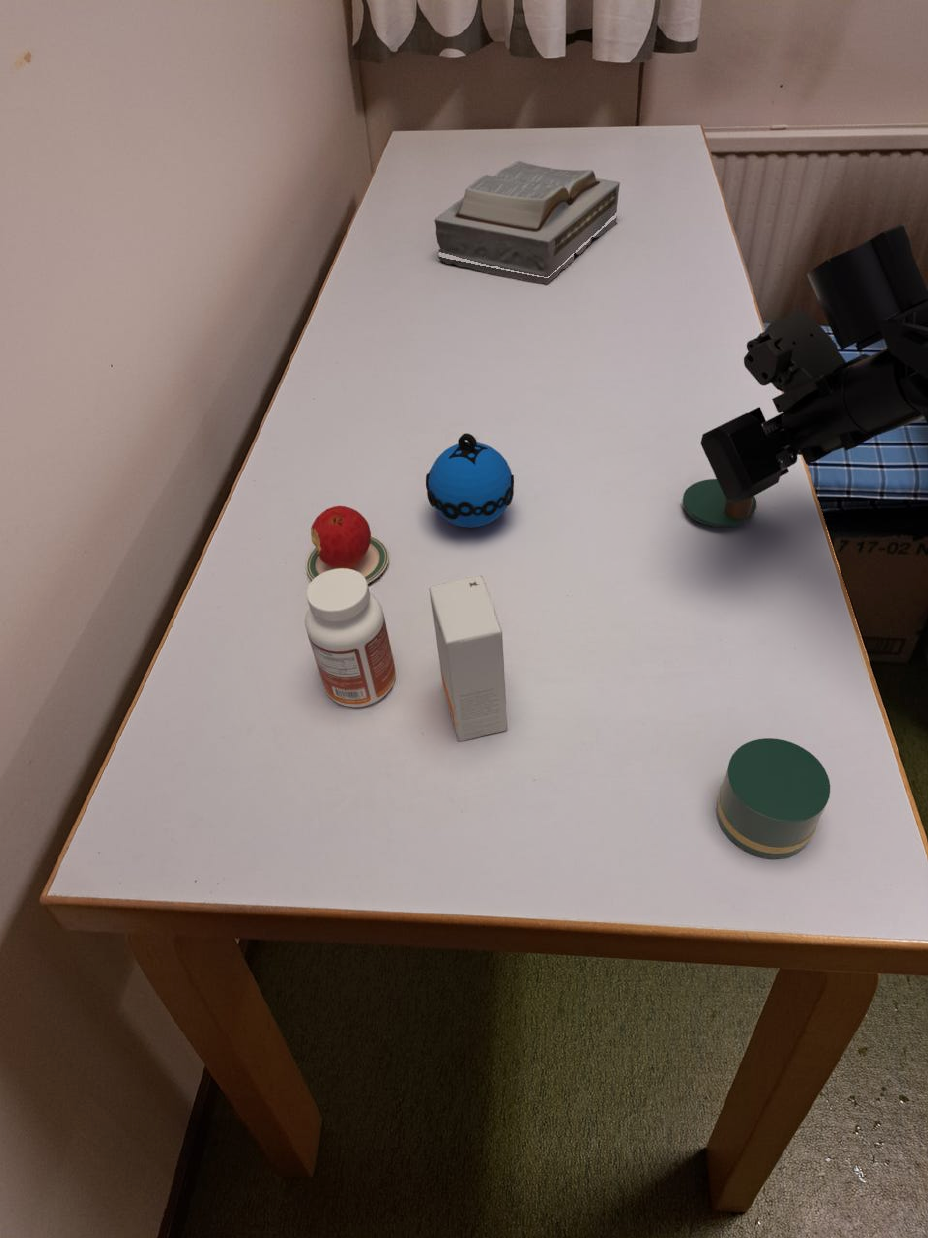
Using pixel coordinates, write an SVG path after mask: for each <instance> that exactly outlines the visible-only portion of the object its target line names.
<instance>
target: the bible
mask: <svg viewBox="0 0 928 1238" xmlns="http://www.w3.org/2000/svg"><path fill="white" fill-rule="evenodd" d="M620 185H621V182H620V181H616V180H612V179H611V180H610V179H604V178H598V177H596V174H595V172H594V170H593V169H583V170H582V169H580V170H579V169H578V170H577V169H559V168H552V167H547V166H541V165H536V164H532V163H529V162H525V161H522V160H517V161H515V162H514V163H512V164H511V165H509V166H507V167H504V168H502V169H500V170H499V171H498V172H497V173H495V175H482V176H480V177H479V178H477V179H476V180H475V181H474V182H472V183H471V184H470V185H468V186H467V187H466V188H465V191H464V195H463V197H462V198H461V199H459V200H458V201H456V202H455V203H454V204H452V205H451V206H450V207H448V208H447V209H446V210H444V211H443V212H442V213H440V214H439V215H438V216H436V217H435V218H434V220H433V221H434V224H435V237H436V243H437V245H438V247H439V249H438V251H439V252H441V253H445V254H449V255H453V256H456V257H459V258H462V259H467V260H470V261H474V262H478V263H481V264H486V265H489V266H498V267H500V268H504V269H510V270H514V271H519V272H524V273H529V274H534V275H539V276H544V277H548V276H550V275H551V274H552V273H553V272H554V271H555V270H557V268H558V267H559V266H561V265H562V264H563V263H564V262H565V261H566V260H567V259H568V258H569V257H570V256H571V255H572V254H573V253H575V252H576V250H578V248H579V247H580V246H581V245H582V244H583V243H584V242H586V241H587V240H588V239H589V238H590V237H591V236H593V235H594V234H595V233H596V232H597V231H598V230H600V229H601V228H602V226H604V225H605V223H606V222H607V221H608V220H609V219H610V218H611V217H612V216H614V215H615V213H616V212H617V213H618V202H619V193H620ZM617 224H618V222H617V217H616V218H615V219H614V220H612V221H611V222H610V223H609V224H608V225H607V226H606V227H604V228H603V229H602V230H601V231H600V232H599V233H598V234H597V235H596V236H595V237H593V238H592V239H591V240H590V241H589V242H588V243H587V244H586V245H584V246H583V247H582V248H581V249H580V250H579V251H578V252H577V253H576V254H575V255H577V256H579V255H581V254H582V253H583V252H584V251H585V250H586V248H587V246H590V244H591V243H592V240H593V239H595V238H596V239H597V238H600V237H602V236H603V235H604V234H605V233H606V232H608V231H609V230H611V229H612V227H614V226H616V225H617ZM575 255H574V256H573V257H571V258H570V259H569V260H568V261H567V262H566V263H565V264H564V265H562V266H561V267H560V268H559V269H558V270H557V271H556V272H554V273H553V274H552V275H551V276H550V277H549V278H544V277H537V276H532V275H527V274H522V273H517V272H511V271H506V270H501V269H496V268H491V267H486V266H480V265H475V264H471V263H466V262H461V261H456V260H450V259H446V258H442V257H438V256H437V258H438V259H439V261H442V262H443V263H445V264H446V265H449V266H451V265H456V266H457V267H459V268H467V269H470V270H475V271H477V272H479V271H480V272H481V273H483V274H485V273H486V274H490V275H496V276H500V277H505V278H510V279H518V280H521V281H523V282H528V283H529V282H530V283H538V284H544V285H547V284H549V283H550V282H551V281H553V280H554V279H555V278H556V277H557V276H558V275H559V274H560V272H561V271H562V270H565V269H566V268H569V265H570V264H572V263H573V262H574V260H575Z"/></svg>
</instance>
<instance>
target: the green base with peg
mask: <svg viewBox="0 0 928 1238" xmlns="http://www.w3.org/2000/svg"><path fill="white" fill-rule="evenodd" d="M682 507H683V509H684V512H686V514H688V516H689V517H690V518H692V519H694V520H695V521H697V522H698V523H701V524H703V525H706V526H710V527H717V528H731V527H736V526H739V525H742V524H745V523H746V522H748V521H749V520H750V519H751V518H752V517H754V515H755V513H756V509H757V499H756V497H755V496H753V497H751V498H750V499H747V500H744V501H741V502H738V503H735V504H734V503H732V502H730V501H728V500H726V498H725V495H724V493H723V491H722V489H721V487H720V485H719V482H718V480H717V478H709V479H703V480H699V481H697V482H694V483H693V484H691V485H690V486H688V487H687V488H686V489H685V491H684V493H683V495H682Z"/></svg>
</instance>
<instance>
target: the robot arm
mask: <svg viewBox="0 0 928 1238" xmlns="http://www.w3.org/2000/svg"><path fill="white" fill-rule="evenodd" d="M806 275H807V278H808V280H809V283H810V285H811V287H812V290H813V291H814V294H815V296H816V298H817V301H818V303H819V305H820V307H821V309H822V312H823V313H824V314H823V315H824V316H825V319H826V321H827V323H828V326H829V328H830V330H831V332H832V334H833V337H834V339H832V337H831V336H830V335H829V333H828V332H826V331H825V329H824V328H823V327H822V326H821V325H820V324H819V322H818V321H816V319H815V318H814V317H813V316H812V315H811V314H809V313H808V312H806V311H803V310H798V311H795V312H793V313H790V314H789V315H785V316H784V317H782V318H779V319H777V320H775V321H773V322H771V323H770V324H768V326H767V327H766V328H765V330H764V331H762V332H761V333H759V334H758V336H757V337H755V338H753V339H751V340H749V341H748V342H747V344H746V349H747V351H748V352H747V353H746V354H745V355H744V357H743V365H744V367H745V368H746V370H747V371H748V372H749V374H751V376H752V377H753V378H754V379H755V381H756V382H757V383H758V384H759V385H760V386H767V385H770V384H772V386H773V387H774V388H775V389H777V390H778V391H779V392H783V393H780V394H779V395H777V396H775V397H773V398H771V400H772V402H773V404H774V407H775V409H776V411H777V413H778V414H777V415H774V416H773V417H771V418H769V419H767V420H766V418H765V415H764V414H763V411H762V409H761V407H760V406H759V407H757V408H754V409H752V410H750V411H749V412H745V413H743V414H741V415H738V416H736V417H735V418H733V419H731V420H728V421H726V422H725V423H723V424H721V425H718V426H717V427H715V428H712V429H710V430H709V431H707V432H704V433H703V434H702V435H701V438H700V445H701V447H702V450H703V452H704V454H705V456H706V458H707V461H708V463H709V465H710V467H711V469H712V471H713V473H714V476H715V479H717V480H718V482H719V485H720V487H721V489H722V491H723V493H724V495H725V498H726V500H728V501H730V502H732V503H734V504H735V503H738V502H741V501H744V500H747V499H750V498H751V497H753V496H754V497H755V496H757V495H759V494H761V493H762V492H764V491H766V490H768V489H770V488H771V487H773V486H775V485H777V484H778V483H780V479H781V477H782V476H784V475H786V474H788V473H789V472H790V471H789V469H788V468H790V467H792V466H794V465H795V464H796V463H797V462H798V456H801V457H802V458H803V460H804V462H805V465H810V464H813V463H815V462H817V461H819V460H820V459H823V458H824V457H826V456H828V455H830V454H832V453H833V452H835V451H838V450H840V449H844V451H845V452H846V451H848V450H852V449H855V448H856V447H857V448H858V447H859V446H860V445H862V444H864V443H865V442H868V441H869V440H871V439H873V438H875V437H878V436H880V435H883V434H885V433H888V432H891V431H894V430H897V429H899V428H901V427H905V426H907V425H910V424H914V423H915V422H919V421H921V420H924V419H925V422H926V424H927V425H928V286H927V285H926V282H925V280H924V278H923V276H922V273H921V271H920V269H919V266H918V264H917V262H916V259H915V257H914V254H913V250H912V244H911V241H910V238H909V236H908V233H907V230H906V228H905V226H904V225H902V224H898V225H895V226H893V227H891V228H889V229H886V230H884V231H882V232H880V233H878V234H877V235H875V236H874V237H871V239H869V240H867V241H865V242H862V243H861V244H859V245H857V246H855V247H853V248H851V249H849V250H846V251H844V252H841V253H839V254H837V255H835V256H832V257H830V258H828V259H827V260H825V261H823V262H821V263H820V264H818V265H817V266H816V267H813V269H811V270H810V271H809V272H807V274H806ZM834 340H835V341H836V342H835V341H834ZM882 340H884V343H885V346H886V348H884V349H882V350H879V351H877V352H875V353H874V354H871V355H870V354H867V353H862V354H860V355H858V356H856V357H854V358H852V359H850V360H848V361H846V359H845V357H843V355H842V354H841V353H840V351H843V350H845V349H847V348H849V347H851V346H853V345H854V346H855V348H856V351H857V352H860V351H862V350H864V349H866V348H868V347H871V346H872V345H874V344H876V343H878V342H880V341H882ZM838 347H839V348H838ZM839 349H840V351H839Z"/></svg>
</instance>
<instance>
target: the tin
mask: <svg viewBox="0 0 928 1238" xmlns="http://www.w3.org/2000/svg"><path fill="white" fill-rule="evenodd" d="M830 797H831V781H830V778H829V775H828V772H827V771H826V769H825V767H824V766H823V764H822V763H821V761H819V759H818V758H817V757H816V756H815V755H814V754H812V753H811V752H810V751H808V750H807V749H805V748H804V747H802V746H800V745H799V744H797V743H795V742H792V741H788V740H785V739H781V738H771V737H770V738H769V737H767V738H766V737H765V738H764V737H763V738H757V739H753V740H750V741H748V742H746V743H744V744H742V745H740V747H738V748H737V749H736V750H735V751H734V753H733V754H732V755H731V757H730V759H729V761H728V764H727V768H726V772H725V775H724V779H723V782H722V785H721V786H720V790H719V794H718V796H717V803H716V816H717V821H718V823H719V826H720V828H721V829H722V831H723V833H724V834H725V836H726V837H727V838H728V839H729V840H730V841H731V842H732V843H733V844H734V845H736V846H737V847H738V848H739V849H740V850H742V851H743V852H746V853H748V854H750V855H753V856H756V857H759V858H764V859H771V860H773V859H774V860H775V859H776V860H777V859H786V858H789V857H792V856H795V855H796V854H798V853H799V852H801V851H802V850H804V849H805V847H806V846H807V845H808V844H809V842H810V840H811V839H812V837H813V836H814V834H815V832H816V830H817V827H818V825H819V821H820V819H821V817H822V815H823V813H824V811H825V809H826V806H827V804H828V802H829V800H830Z"/></svg>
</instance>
